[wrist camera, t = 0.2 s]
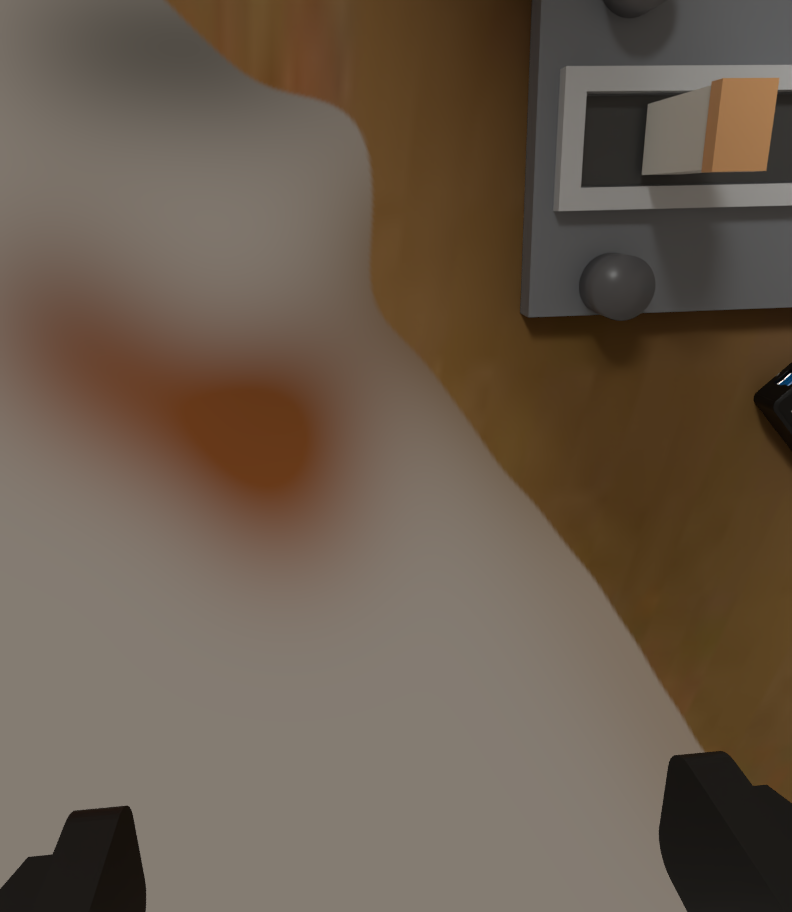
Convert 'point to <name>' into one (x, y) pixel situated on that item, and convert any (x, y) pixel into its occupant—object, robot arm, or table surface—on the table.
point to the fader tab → (712, 128)
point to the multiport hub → (778, 403)
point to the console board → (621, 158)
